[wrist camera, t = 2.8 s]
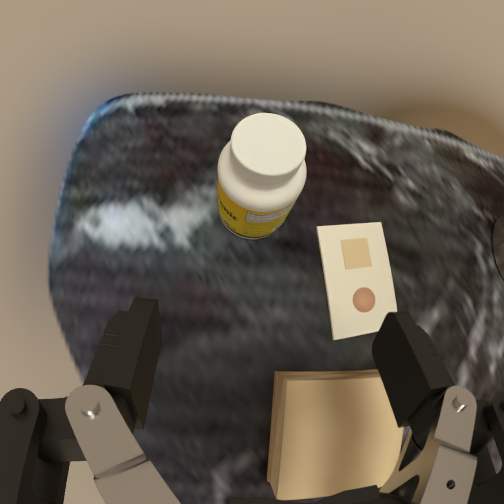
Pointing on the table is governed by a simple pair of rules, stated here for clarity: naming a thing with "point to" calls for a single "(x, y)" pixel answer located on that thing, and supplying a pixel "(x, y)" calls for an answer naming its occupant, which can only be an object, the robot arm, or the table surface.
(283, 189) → the supplement bottle
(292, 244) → the table surface
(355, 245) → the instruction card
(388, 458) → the beech block
